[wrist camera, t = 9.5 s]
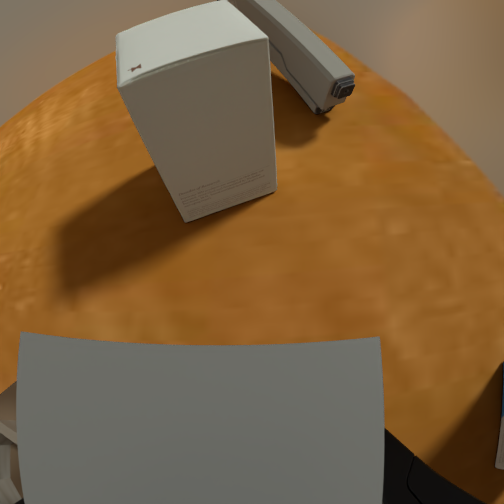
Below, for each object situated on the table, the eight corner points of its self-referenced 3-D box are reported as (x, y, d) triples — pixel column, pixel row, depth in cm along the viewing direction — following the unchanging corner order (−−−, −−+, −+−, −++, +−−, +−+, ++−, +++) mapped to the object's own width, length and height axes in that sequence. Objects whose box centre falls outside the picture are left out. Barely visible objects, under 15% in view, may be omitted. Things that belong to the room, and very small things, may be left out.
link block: (307, 471, 12) (357, 638, 1) (203, 471, 13) (49, 590, 2) (306, 375, 14) (379, 336, 3) (202, 377, 15) (20, 331, 4)
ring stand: (193, 538, 14) (171, 570, 9) (59, 573, 11) (29, 589, 6) (69, 348, 19) (27, 336, 15) (-27, 425, 17) (-62, 421, 12)
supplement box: (280, 192, 23) (273, 37, 12) (183, 225, 23) (110, 88, 11) (247, 128, 26) (228, -4, 15) (166, 156, 26) (112, 32, 14)
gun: (226, 16, 35) (223, -40, 25) (333, 142, 30) (362, 78, 21) (209, 21, 35) (204, -35, 25) (313, 151, 30) (337, 85, 20)
